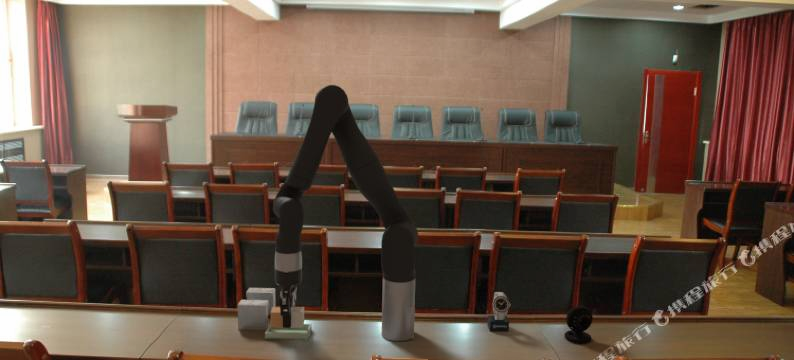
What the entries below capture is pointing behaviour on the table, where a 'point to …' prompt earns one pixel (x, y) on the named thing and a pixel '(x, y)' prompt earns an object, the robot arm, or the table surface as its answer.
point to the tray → (288, 333)
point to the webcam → (579, 325)
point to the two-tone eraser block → (296, 317)
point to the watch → (499, 313)
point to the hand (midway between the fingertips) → (288, 323)
